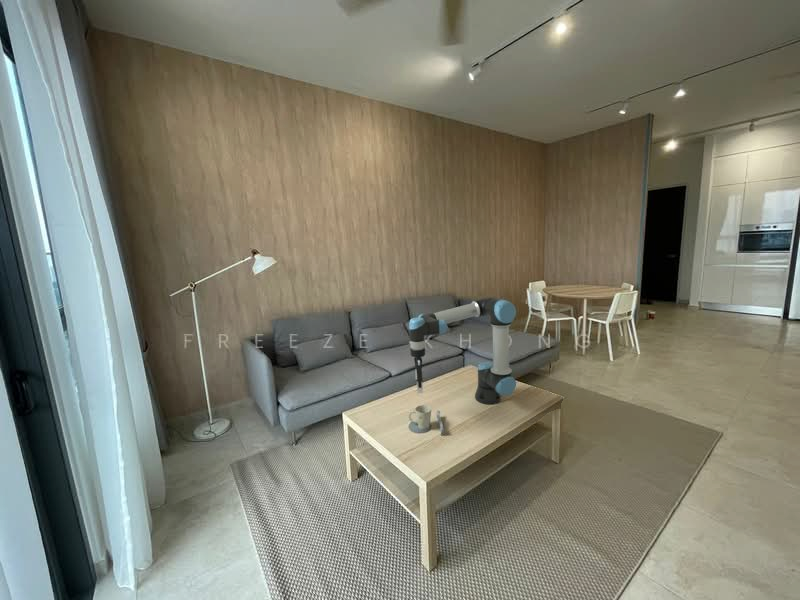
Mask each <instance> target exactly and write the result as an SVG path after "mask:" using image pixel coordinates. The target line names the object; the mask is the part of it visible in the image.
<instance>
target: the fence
mask: <svg viewBox="0 0 800 600" xmlns="http://www.w3.org/2000/svg"><path fill="white" fill-rule="evenodd" d="M436 418H437V423H438V425H439V430H440V431H439V432H440V436H442V437H443V436H444V435H445V431H444V428H445V427H444V426H443V423H442V418H441V412H440V410H437V411H436Z"/></svg>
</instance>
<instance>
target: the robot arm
mask: <svg viewBox="0 0 800 600" xmlns="http://www.w3.org/2000/svg"><path fill="white" fill-rule="evenodd" d="M516 316H517V309H516V307H515V305H514V304H513V303H512V302H511V301H508V300H507V299H501V298H498V297H497V298H496V297H491V296H490V297H484V298H480V299H476V300H472V302H471V303H468V304H463V305H460V306H457V307H453V308H449V309H444V310H441V311H436V312H433V313H429V314H426V313H421V314H419V315H418V317H412V318H411V319H410V320H409V324H408V325H409V326H408V328H409V340H410V341H409V342H408V344H409V346H410V347H409V348H410V351H409V352H410V356H411V357H413V360H414V367H415V368H414V369H415V371H414V372H415V382H416V393H417V394H423V390H424V389H423V381H424V380H423V370H422V368H423V357H425V355H426V340H425V339H426V337H428V336H435V335H436V336H437V335H442V334H446V332H447V331H448V324H451V323H454V322H457V321H462V320H465V319H468V318H472V317H475V318H479V317H486V318H489V325H490V326H491V327H492V361H484V362H480V363H479V364H477V366H478V367H477V388H476V389H475V390H476V391H475V393H474V398H475V400H476V401H477V402H478V403H480V404H483V405H484V404H485V405H496V404H498V403H499V402H501V396H509V395H511V394H512V393H513V392H514V391H515V389H516V388H517V381H516V379H515V377H513V370H512V368H511V367H510V338H509V337H510V329H509V328H510V326H511V325H512V324H513V323H512V322H513V321H514V319H515V318H516Z"/></svg>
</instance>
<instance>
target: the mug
mask: <svg viewBox="0 0 800 600" xmlns="http://www.w3.org/2000/svg"><path fill="white" fill-rule="evenodd" d="M412 414H415V415H416V420H417V421H415V420H414V419H413V418H412V417H411V416H412ZM431 416H432V407H431V406H429V405H426V404H420V405H418V406H417V407H415V410H410V412H409V413H408V414H407V417H408V420H409V421H411V422H418V427H419V428H420V429H428V428H429V426H430V424H431V418H432V417H431Z"/></svg>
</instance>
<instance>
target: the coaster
mask: <svg viewBox="0 0 800 600" xmlns="http://www.w3.org/2000/svg"><path fill="white" fill-rule="evenodd" d="M414 421H417V419H415V420H414ZM431 428H432V424H431V423H430V426H429V428H428V429H420V428H419V427H418V422H412V421H411V422H410V423H409V424H408V429H409V431H411V432H412V433H414V434H426V433H427V432H429V431H430V430H431Z"/></svg>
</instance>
